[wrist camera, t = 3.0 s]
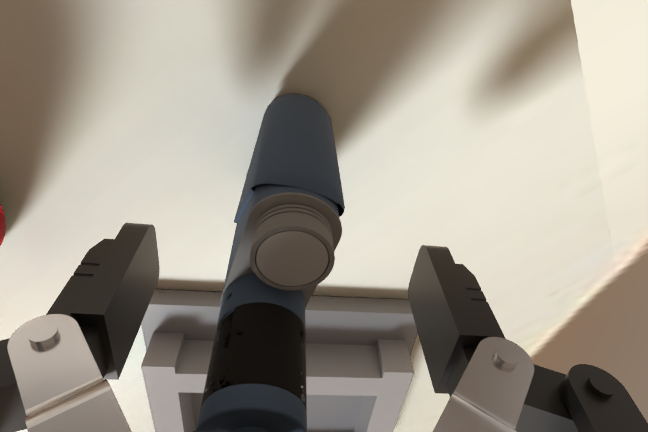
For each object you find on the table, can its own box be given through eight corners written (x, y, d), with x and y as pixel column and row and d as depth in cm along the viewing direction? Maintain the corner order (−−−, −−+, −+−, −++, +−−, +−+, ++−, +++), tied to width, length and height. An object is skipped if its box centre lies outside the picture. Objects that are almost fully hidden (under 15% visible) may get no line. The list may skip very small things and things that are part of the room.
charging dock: (143, 288, 21) (122, 337, 19) (419, 300, 23) (433, 346, 20) (173, 454, 30) (162, 501, 28) (369, 455, 32) (375, 500, 29)
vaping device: (237, 192, 19) (167, 507, 9) (274, 76, 16) (233, 345, 6) (294, 209, 19) (289, 520, 9) (340, 100, 16) (400, 379, 7)
